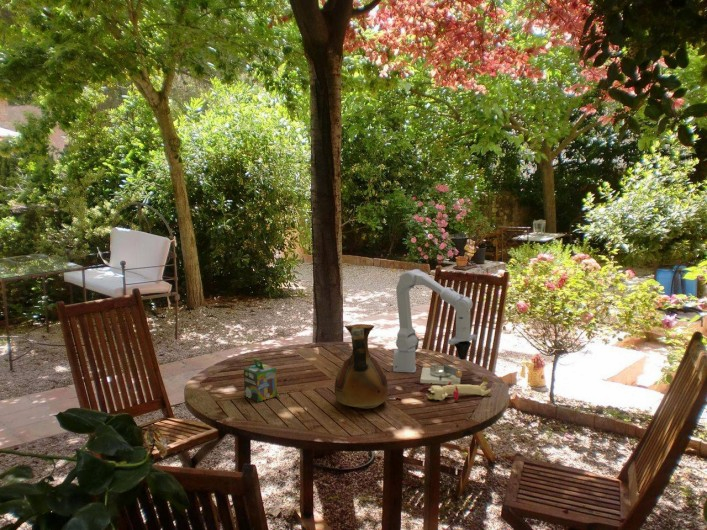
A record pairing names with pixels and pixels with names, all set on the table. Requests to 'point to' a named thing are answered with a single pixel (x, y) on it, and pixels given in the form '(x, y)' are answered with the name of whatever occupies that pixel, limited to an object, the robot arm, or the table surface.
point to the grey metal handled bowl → (445, 371)
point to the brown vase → (361, 373)
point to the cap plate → (437, 378)
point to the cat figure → (458, 390)
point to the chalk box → (260, 381)
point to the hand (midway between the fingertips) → (462, 359)
